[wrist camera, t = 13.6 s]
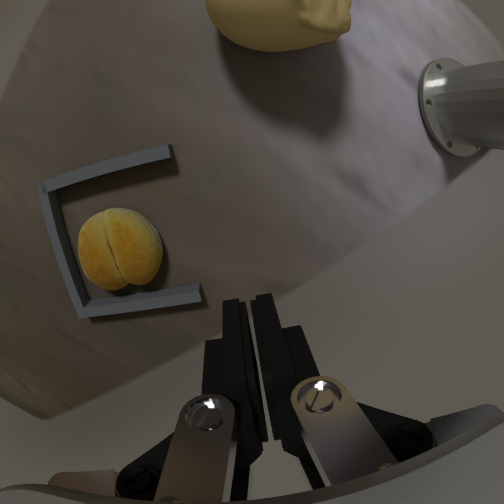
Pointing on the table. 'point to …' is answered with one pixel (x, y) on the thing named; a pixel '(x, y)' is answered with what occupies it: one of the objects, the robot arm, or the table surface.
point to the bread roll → (119, 249)
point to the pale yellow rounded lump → (280, 22)
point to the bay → (66, 256)
